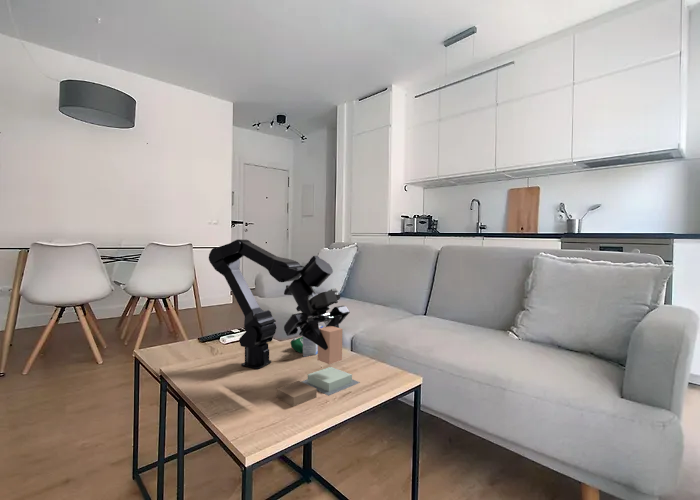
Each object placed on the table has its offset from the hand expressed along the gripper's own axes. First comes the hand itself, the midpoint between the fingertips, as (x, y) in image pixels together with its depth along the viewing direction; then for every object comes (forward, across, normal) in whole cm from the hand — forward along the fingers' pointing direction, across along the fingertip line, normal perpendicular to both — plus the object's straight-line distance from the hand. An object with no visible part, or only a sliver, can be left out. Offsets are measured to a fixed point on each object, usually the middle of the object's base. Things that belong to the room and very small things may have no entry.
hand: (333, 347), depth 90 cm
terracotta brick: (+2, 0, +4) cm, 4 cm away
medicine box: (-10, +14, +25) cm, 30 cm away
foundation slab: (+6, 0, +8) cm, 9 cm away
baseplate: (+6, 0, +8) cm, 10 cm away
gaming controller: (-14, +15, +30) cm, 36 cm away
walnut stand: (+7, -11, +8) cm, 15 cm away
